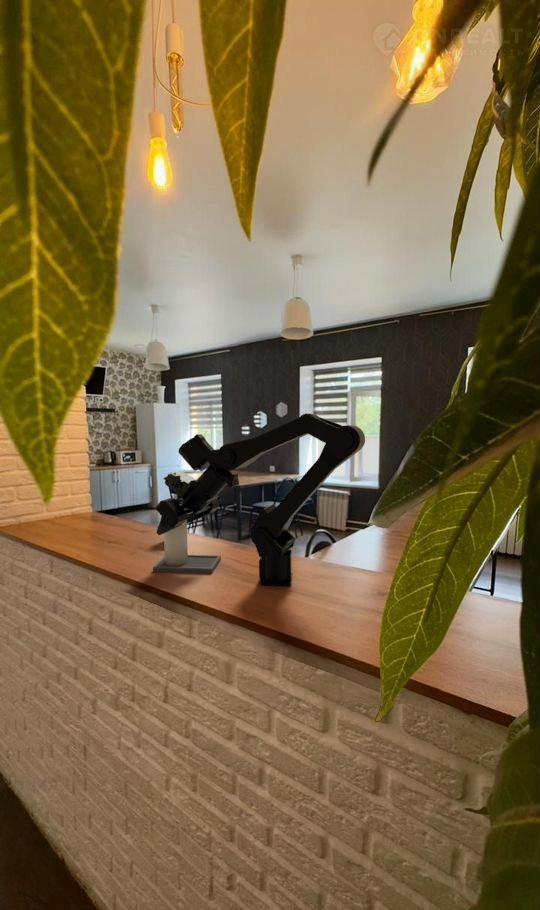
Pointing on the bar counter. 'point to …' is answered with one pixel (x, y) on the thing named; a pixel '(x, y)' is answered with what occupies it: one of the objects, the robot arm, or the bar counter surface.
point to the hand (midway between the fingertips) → (170, 528)
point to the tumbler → (176, 546)
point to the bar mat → (191, 564)
